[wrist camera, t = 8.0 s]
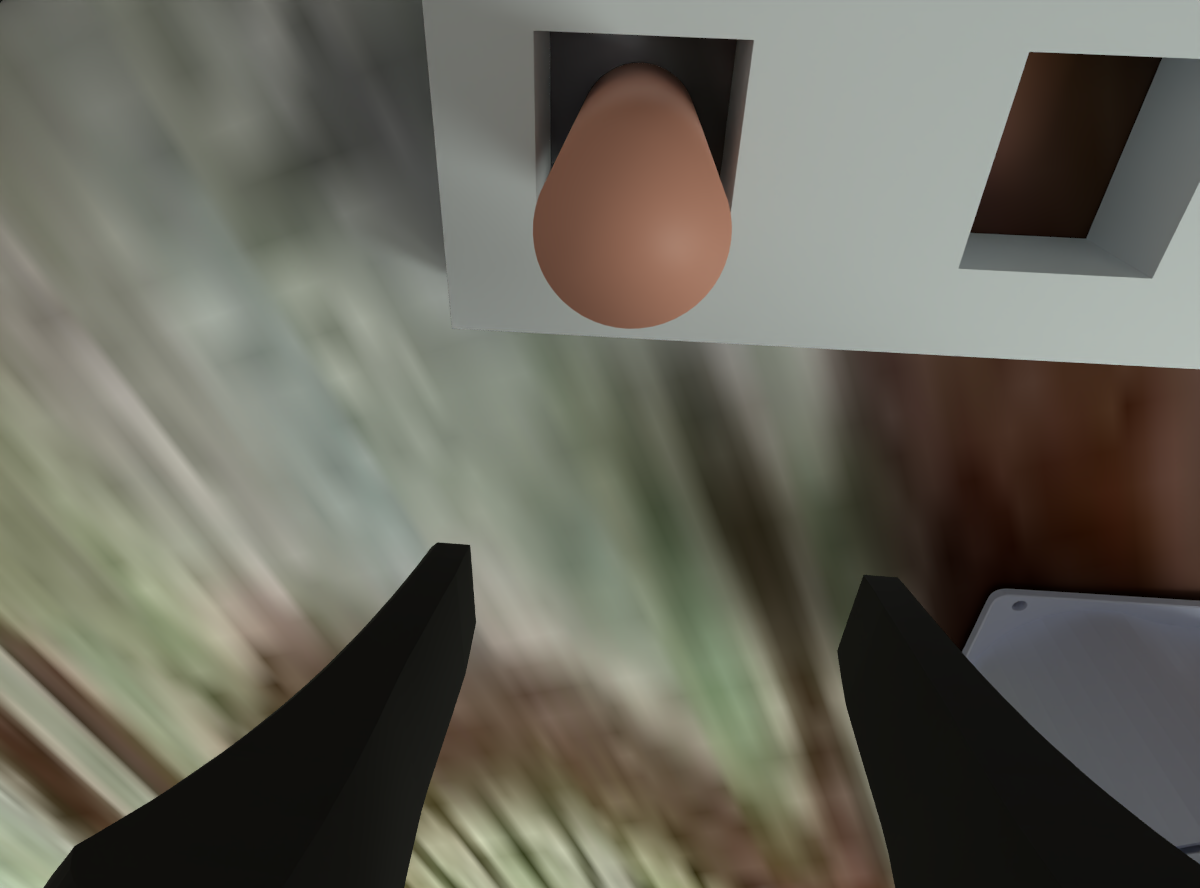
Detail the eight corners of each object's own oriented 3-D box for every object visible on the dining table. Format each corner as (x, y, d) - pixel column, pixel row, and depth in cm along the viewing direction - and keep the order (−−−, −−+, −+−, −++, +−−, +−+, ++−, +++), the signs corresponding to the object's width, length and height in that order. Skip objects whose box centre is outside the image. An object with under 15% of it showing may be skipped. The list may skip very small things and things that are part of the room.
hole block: (1323, -67, 15) (1455, -75, 13) (1132, 320, 20) (1201, 369, 18) (448, -100, 16) (411, -113, 13) (475, 285, 21) (451, 328, 18)
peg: (701, 63, 17) (743, 132, 10) (691, 190, 19) (720, 331, 11) (579, 61, 17) (527, 128, 10) (580, 187, 19) (536, 326, 12)
